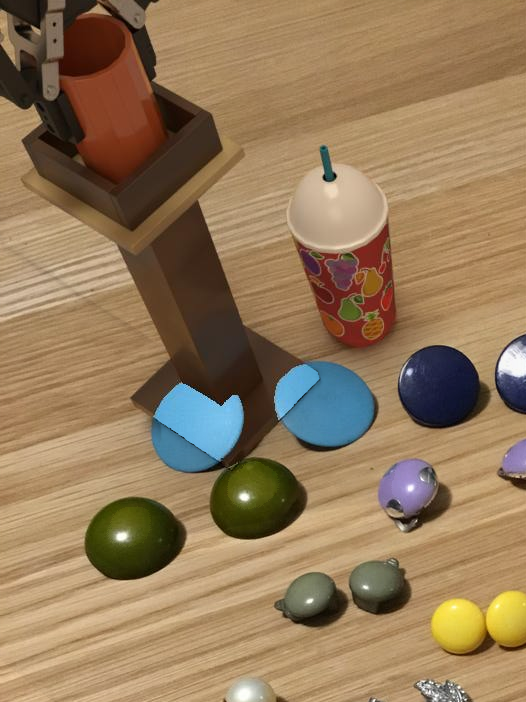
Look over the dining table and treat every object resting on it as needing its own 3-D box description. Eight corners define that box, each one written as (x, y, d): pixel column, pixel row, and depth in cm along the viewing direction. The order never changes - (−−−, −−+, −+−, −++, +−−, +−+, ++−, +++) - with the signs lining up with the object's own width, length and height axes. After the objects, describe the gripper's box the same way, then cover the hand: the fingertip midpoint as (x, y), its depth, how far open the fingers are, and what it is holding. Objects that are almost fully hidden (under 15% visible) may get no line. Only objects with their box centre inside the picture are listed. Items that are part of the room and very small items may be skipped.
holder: (134, 405, 101) (-11, 144, 75) (223, 318, 105) (116, 40, 78) (231, 471, 98) (116, 221, 71) (320, 379, 101) (242, 109, 75)
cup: (70, 171, 77) (14, 55, 69) (131, 118, 79) (83, 0, 71) (132, 208, 76) (82, 94, 67) (192, 153, 77) (151, 36, 69)
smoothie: (399, 280, 105) (369, 100, 87) (412, 350, 102) (385, 178, 84) (311, 296, 105) (263, 118, 87) (322, 366, 102) (274, 197, 83)
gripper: (43, -259, 61) (143, 21, 76) (-161, -118, 57) (-12, 150, 72) (141, -215, 59) (223, 64, 74) (-64, -65, 55) (68, 199, 70)
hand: (107, 105), depth 73 cm, fingers closed on cup, 6 cm apart
